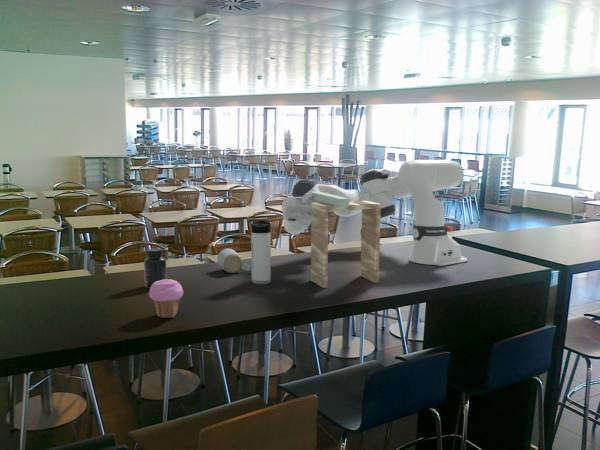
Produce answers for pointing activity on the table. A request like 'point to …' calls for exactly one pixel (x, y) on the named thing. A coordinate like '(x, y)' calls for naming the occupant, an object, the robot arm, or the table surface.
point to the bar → (330, 199)
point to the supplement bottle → (154, 267)
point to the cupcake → (166, 297)
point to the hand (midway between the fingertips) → (318, 195)
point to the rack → (368, 240)
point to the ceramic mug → (231, 261)
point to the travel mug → (261, 252)
